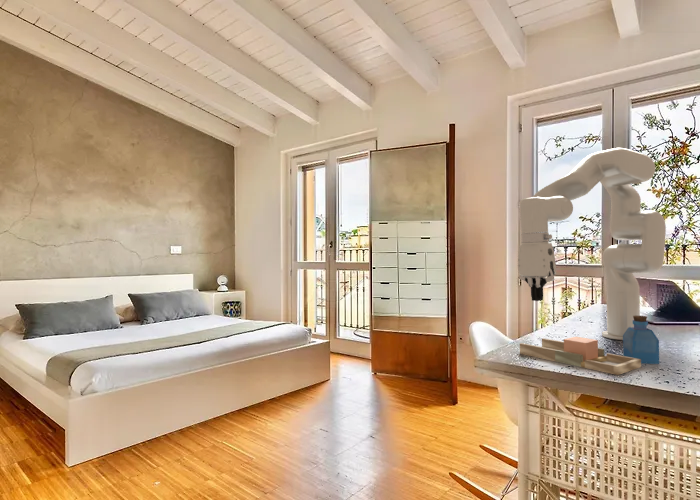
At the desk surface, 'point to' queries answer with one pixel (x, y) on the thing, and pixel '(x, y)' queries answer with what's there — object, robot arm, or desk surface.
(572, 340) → the block
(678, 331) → the desk surface
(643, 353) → the perfume bottle
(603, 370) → the corridor
